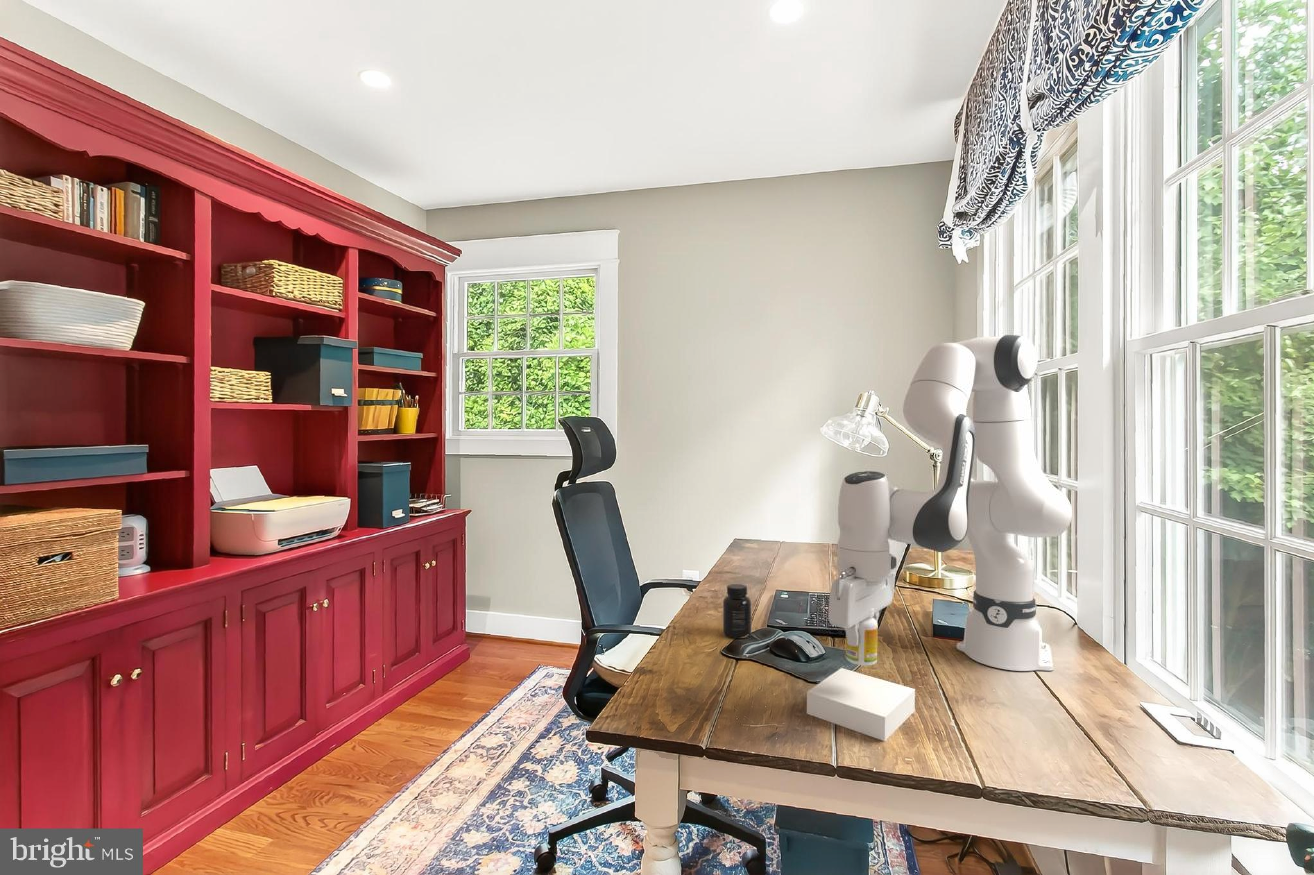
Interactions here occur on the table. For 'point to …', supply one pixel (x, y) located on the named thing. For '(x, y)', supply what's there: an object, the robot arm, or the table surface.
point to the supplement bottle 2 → (864, 643)
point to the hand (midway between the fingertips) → (861, 639)
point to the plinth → (861, 703)
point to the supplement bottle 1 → (736, 612)
